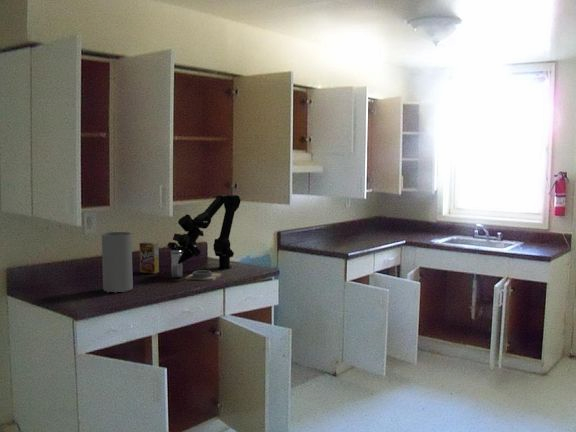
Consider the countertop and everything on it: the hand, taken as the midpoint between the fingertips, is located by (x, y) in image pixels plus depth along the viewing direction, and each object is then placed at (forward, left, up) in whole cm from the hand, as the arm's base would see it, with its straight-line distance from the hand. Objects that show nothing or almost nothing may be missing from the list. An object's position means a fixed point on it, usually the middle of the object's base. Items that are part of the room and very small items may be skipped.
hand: (174, 262), depth 282 cm
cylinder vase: (+29, -14, -8) cm, 33 cm away
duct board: (-6, +13, -8) cm, 16 cm away
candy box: (-11, -19, -8) cm, 23 cm away
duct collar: (-4, +13, -8) cm, 15 cm away
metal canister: (-1, +1, -7) cm, 7 cm away
